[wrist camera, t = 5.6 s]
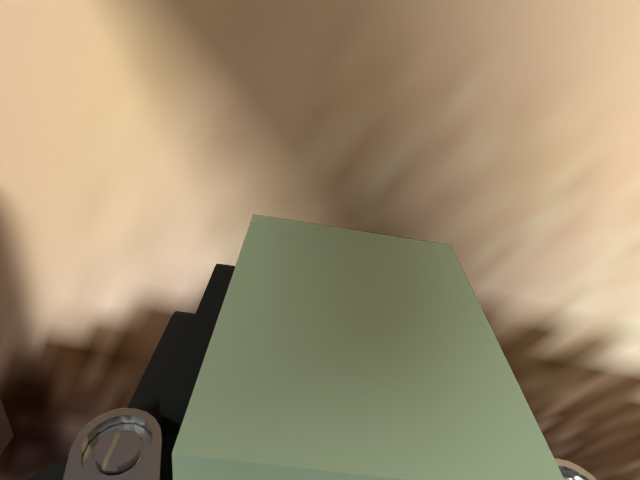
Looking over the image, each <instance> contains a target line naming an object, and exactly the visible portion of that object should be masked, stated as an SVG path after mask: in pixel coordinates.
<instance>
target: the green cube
mask: <svg viewBox="0 0 640 480" xmlns="http://www.w3.org/2000/svg"><path fill="white" fill-rule="evenodd" d="M172 472H173V480H564V478H563V476H562V474H561V471H560V469H559V467H558V465H557V463H556V461H555V459H554V457H553V455H552V453H551V451H550V449H549V447H548V445H547V443H546V440H545V438H544V436H543V434H542V432H541V430H540V428H539V426H538V424H537V422H536V420H535V418H534V416H533V414H532V412H531V409H530V407H529V405H528V403H527V401H526V399H525V397H524V395H523V393H522V391H521V389H520V387H519V385H518V383H517V381H516V379H515V376H514V374H513V372H512V370H511V368H510V366H509V364H508V362H507V360H506V358H505V356H504V354H503V352H502V350H501V348H500V345H499V343H498V341H497V339H496V337H495V335H494V333H493V331H492V329H491V327H490V325H489V323H488V321H487V319H486V317H485V314H484V312H483V310H482V308H481V306H480V304H479V302H478V300H477V298H476V296H475V294H474V292H473V290H472V288H471V286H470V283H469V281H468V279H467V277H466V275H465V273H464V271H463V269H462V267H461V265H460V263H459V261H458V259H457V257H456V255H455V253H454V250H453V248H452V246H451V245H447V244H441V243H434V242H428V241H421V240H415V239H408V238H402V237H396V236H389V235H383V234H376V233H370V232H363V231H357V230H350V229H344V228H338V227H331V226H325V225H318V224H312V223H305V222H299V221H293V220H286V219H280V218H273V217H267V216H260V215H254V214H253V217H252V219H251V222H250V225H249V228H248V231H247V234H246V237H245V240H244V243H243V246H242V249H241V252H240V255H239V258H238V261H237V263H236V266H235V269H234V272H233V275H232V278H231V281H230V284H229V287H228V290H227V293H226V296H225V299H224V302H223V305H222V307H221V310H220V313H219V316H218V319H217V322H216V325H215V328H214V331H213V334H212V337H211V340H210V343H209V346H208V349H207V351H206V354H205V357H204V360H203V363H202V366H201V369H200V372H199V375H198V378H197V381H196V384H195V387H194V390H193V393H192V395H191V398H190V401H189V404H188V407H187V410H186V413H185V416H184V419H183V422H182V425H181V428H180V431H179V434H178V437H177V439H176V442H175V445H174V448H173V451H172Z"/></svg>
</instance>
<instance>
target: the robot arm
mask: <svg viewBox="0 0 640 480" xmlns="http://www.w3.org/2000/svg"><path fill="white" fill-rule="evenodd" d="M234 269H235V266H230V265H223V264H216V266H215V268H214V271H213V273H212V276H211V278H210V280H209V283H208V285H207V288H206V290H205V292H204V295H203V297H202V300H201V302H200V305H199V307H198V309H197V312H196V314H193V313H186V312H178V311H176V312H175V313H174V314H173V315H172V317H171V319H170V321H169V323H168V325H167V327H166V329H165V331H164V333H163V335H162V337H161V339H160V341H159V343H158V346H157V348H156V350H155V352H154V354H153V356H152V358H151V360H150V362H149V364H148V366H147V368H146V370H145V372H144V374H143V376H142V379H141V381H140V383H139V385H138V387H137V389H136V391H135V393H134V395H133V397H132V399H131V401H130V403H129V405H128V407H127V408H122V409H117V410H113V411H109V412H107V413H105V414H103V415H101V416H99V417H97V418H95V419H94V420H93V421H91V422H90V423H89V424H88V425H86V426H85V427H84V428H83V429H82V431H81V432H80V433H79V434H78V436H77V437H76V438H75V440H74V443H73V445H72V447H71V450H70V453H69V456H68V457H66V458H64V459H62V460H61V461H59V462H57V463H55V464H53V465H52V466H50V467H48V468H46V469H44V470H42V471H41V472H39V473H37V474H35V475H33V476H31V477H30V478H28V479H26V480H173V472H172V451H173V448H174V445H175V442H176V439H177V437H178V434H179V431H180V428H181V425H182V422H183V419H184V416H185V413H186V410H187V407H188V404H189V401H190V398H191V395H192V393H193V390H194V387H195V384H196V381H197V378H198V375H199V372H200V369H201V366H202V363H203V360H204V357H205V354H206V351H207V349H208V346H209V343H210V340H211V337H212V334H213V331H214V328H215V325H216V322H217V319H218V316H219V313H220V310H221V307H222V305H223V302H224V299H225V296H226V293H227V290H228V287H229V284H230V281H231V278H232V275H233V272H234ZM555 461H556V463H557V465H558V467H559V469H560V471H561V474H562V476H563V478H564V480H596V479H595V478H594V477H593V476H592V475H591V474H590V473H588V472H587V471H585V470H584V469H583V468H581V467H580V466H578V465H576V464H574V463H572V462H569V461H566V460H562V459H558V458H556V459H555Z"/></svg>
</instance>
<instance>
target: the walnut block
mask: <svg viewBox="0 0 640 480" xmlns="http://www.w3.org/2000/svg"><path fill="white" fill-rule="evenodd" d="M13 436H14V434H13V432H12V429H11V426H10V423H9V420H8V418H7V415H6V412H5V409H4V406H3V404H2V401H1V398H0V455H1V454H2V452H3V451H4V449H5V448H6V446H7V445H8V443H9V442H10V440H11V439H12V438H13Z"/></svg>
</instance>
